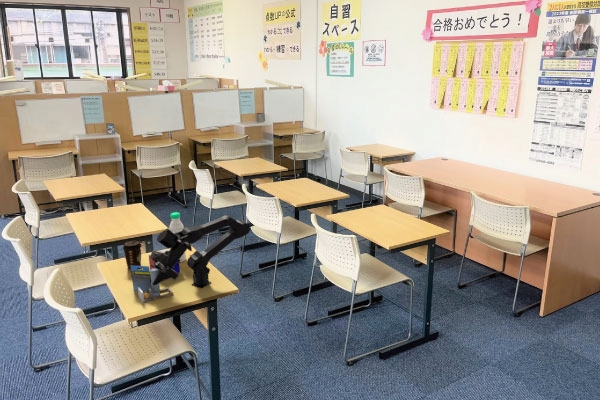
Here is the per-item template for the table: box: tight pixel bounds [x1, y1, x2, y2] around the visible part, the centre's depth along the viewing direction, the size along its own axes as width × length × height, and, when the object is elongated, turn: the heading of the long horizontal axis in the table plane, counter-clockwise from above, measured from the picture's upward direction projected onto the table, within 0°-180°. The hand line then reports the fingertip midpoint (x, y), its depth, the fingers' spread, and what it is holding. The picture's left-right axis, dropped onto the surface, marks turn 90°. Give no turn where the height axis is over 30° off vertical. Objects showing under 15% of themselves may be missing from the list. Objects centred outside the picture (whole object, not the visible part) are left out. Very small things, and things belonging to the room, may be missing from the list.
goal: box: [137, 285, 154, 304], centre depth 203 cm, size 4×6×5 cm
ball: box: [143, 291, 150, 300], centre depth 204 cm, size 3×3×3 cm
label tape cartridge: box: [130, 265, 152, 292], centre depth 211 cm, size 9×4×12 cm, turn 80°
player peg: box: [149, 269, 161, 299], centre depth 205 cm, size 4×4×12 cm
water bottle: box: [168, 211, 187, 263], centre depth 241 cm, size 7×7×25 cm
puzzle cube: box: [148, 248, 181, 274], centre depth 228 cm, size 10×10×10 cm
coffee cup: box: [122, 240, 143, 271], centre depth 234 cm, size 9×8×13 cm
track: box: [149, 286, 174, 301], centre depth 208 cm, size 8×6×1 cm
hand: (151, 283), depth 204 cm, fingers closed on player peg, 3 cm apart
